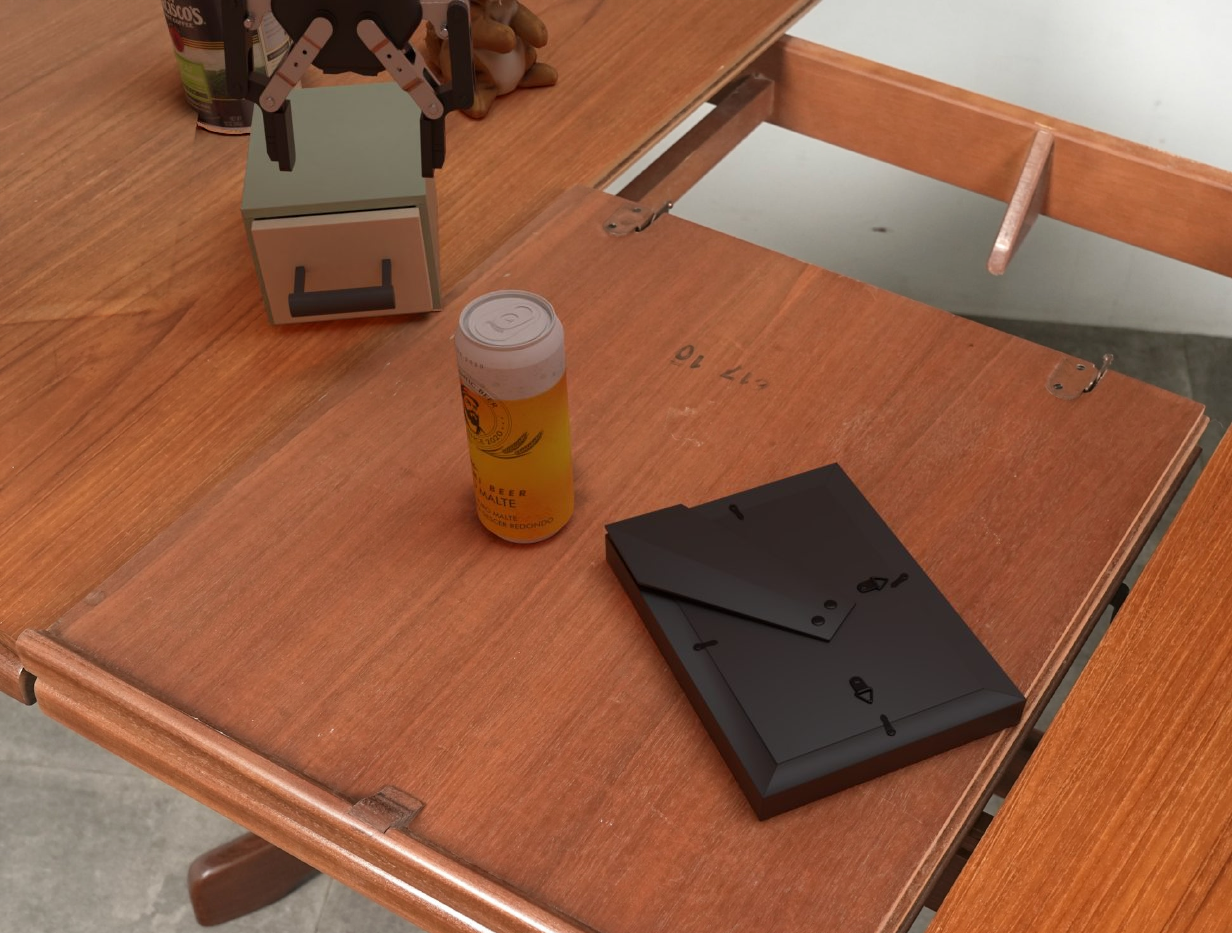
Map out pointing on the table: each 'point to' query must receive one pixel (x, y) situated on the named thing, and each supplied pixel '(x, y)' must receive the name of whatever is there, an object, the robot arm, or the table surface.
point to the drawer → (343, 264)
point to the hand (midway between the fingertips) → (359, 169)
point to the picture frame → (807, 637)
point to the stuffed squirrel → (498, 51)
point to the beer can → (516, 414)
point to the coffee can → (218, 60)
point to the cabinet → (344, 165)
